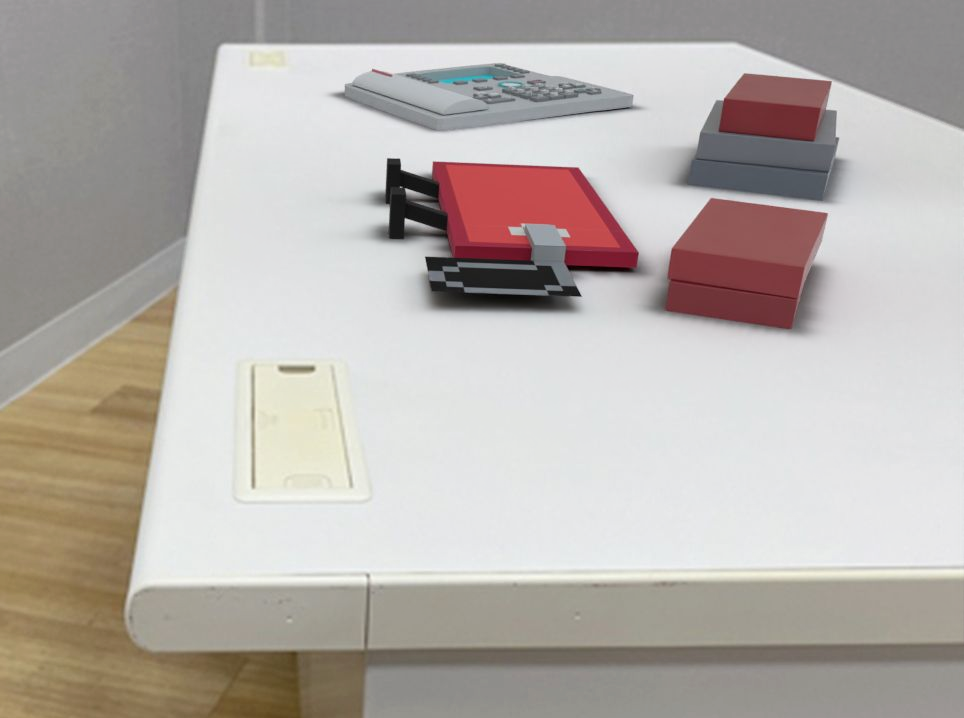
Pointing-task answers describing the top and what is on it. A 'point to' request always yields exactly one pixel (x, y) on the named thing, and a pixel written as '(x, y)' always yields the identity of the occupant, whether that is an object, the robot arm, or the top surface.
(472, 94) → the office telephone
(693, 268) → the burgundy books
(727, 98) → the burgundy book
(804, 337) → the top surface
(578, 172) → the red board with handle
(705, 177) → the grey books
